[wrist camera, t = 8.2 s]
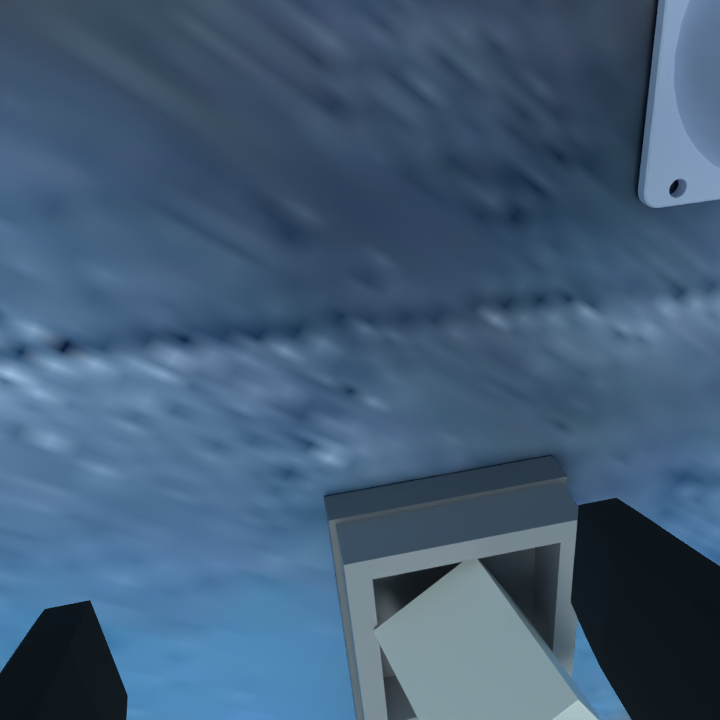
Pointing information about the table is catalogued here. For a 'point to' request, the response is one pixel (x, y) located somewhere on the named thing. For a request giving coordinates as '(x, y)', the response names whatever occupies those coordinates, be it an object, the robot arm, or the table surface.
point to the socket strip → (450, 559)
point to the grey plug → (477, 655)
